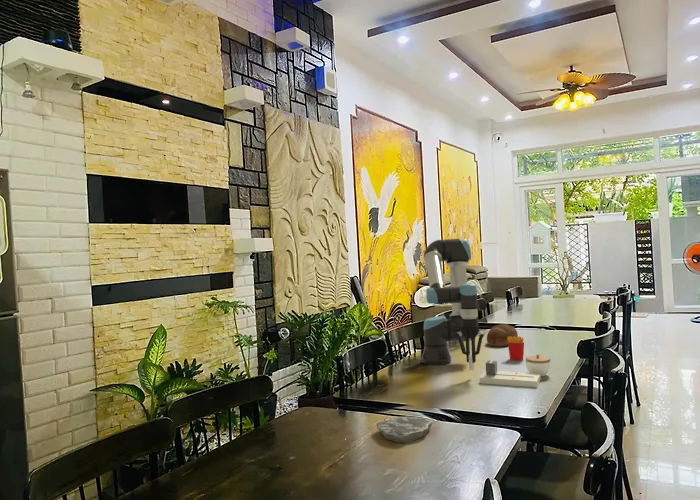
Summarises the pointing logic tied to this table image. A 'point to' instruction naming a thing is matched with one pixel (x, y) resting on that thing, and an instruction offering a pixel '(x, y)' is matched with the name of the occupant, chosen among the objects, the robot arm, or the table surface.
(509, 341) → the french fries
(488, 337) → the bread
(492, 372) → the fader tab
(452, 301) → the robot arm
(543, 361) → the lidded jar
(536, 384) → the console
